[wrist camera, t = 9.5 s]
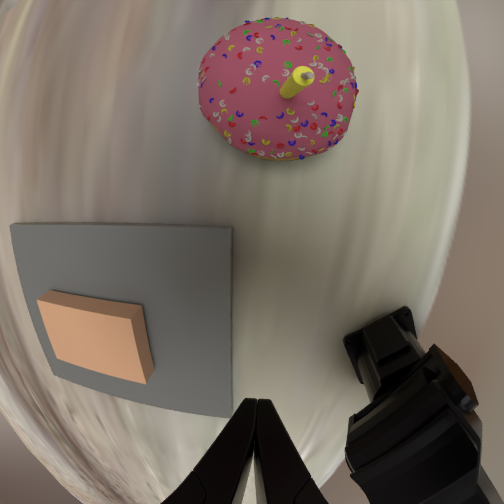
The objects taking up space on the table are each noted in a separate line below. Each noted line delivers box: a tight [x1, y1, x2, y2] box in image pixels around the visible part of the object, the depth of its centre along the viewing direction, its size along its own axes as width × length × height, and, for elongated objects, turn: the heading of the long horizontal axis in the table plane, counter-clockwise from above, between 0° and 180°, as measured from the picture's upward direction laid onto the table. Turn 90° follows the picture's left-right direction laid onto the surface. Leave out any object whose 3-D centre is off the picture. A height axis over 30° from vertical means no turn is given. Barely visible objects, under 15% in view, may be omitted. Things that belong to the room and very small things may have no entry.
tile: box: [37, 290, 154, 384], centre depth 21 cm, size 2×7×11 cm
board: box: [10, 223, 232, 418], centre depth 23 cm, size 24×20×1 cm
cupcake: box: [196, 17, 359, 161], centre depth 11 cm, size 9×8×12 cm
